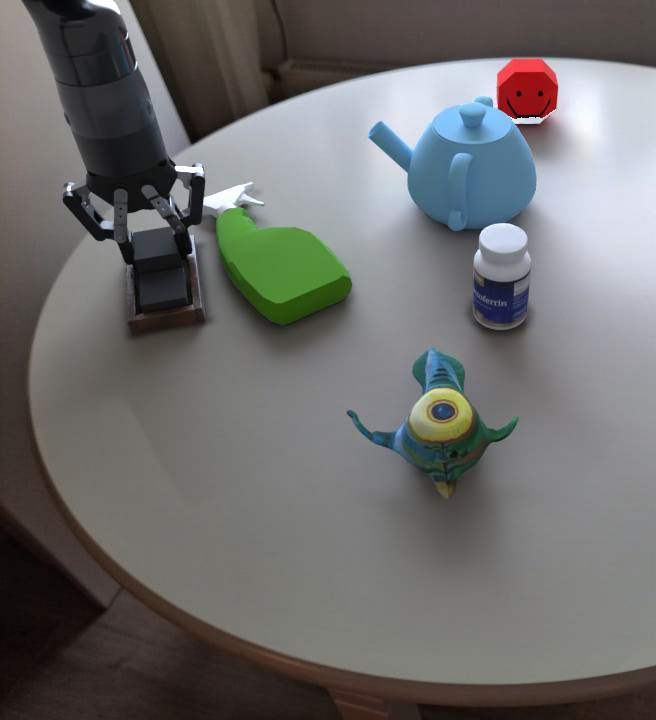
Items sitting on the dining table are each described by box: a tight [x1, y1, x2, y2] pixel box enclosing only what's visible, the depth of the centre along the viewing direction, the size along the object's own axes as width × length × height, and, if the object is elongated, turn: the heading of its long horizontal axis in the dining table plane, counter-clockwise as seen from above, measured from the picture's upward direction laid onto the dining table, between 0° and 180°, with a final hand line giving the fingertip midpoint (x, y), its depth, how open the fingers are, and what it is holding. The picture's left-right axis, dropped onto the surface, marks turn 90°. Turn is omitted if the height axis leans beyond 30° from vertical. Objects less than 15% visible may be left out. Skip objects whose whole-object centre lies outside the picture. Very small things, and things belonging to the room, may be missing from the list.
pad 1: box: [132, 225, 185, 275], centre depth 86 cm, size 4×5×3 cm
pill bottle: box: [472, 222, 532, 331], centre depth 81 cm, size 6×6×10 cm
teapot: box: [366, 94, 538, 232], centre depth 94 cm, size 20×20×13 cm
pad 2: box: [139, 268, 191, 314], centre depth 84 cm, size 4×5×3 cm
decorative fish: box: [346, 346, 520, 499], centre depth 71 cm, size 13×12×6 cm
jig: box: [125, 234, 207, 336], centre depth 86 cm, size 7×13×2 cm, turn 18°
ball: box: [496, 58, 559, 119], centre depth 110 cm, size 8×8×8 cm
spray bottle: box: [202, 181, 353, 326], centre depth 90 cm, size 3×11×25 cm
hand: (160, 259), depth 87 cm, fingers closed on pad 1, 4 cm apart
